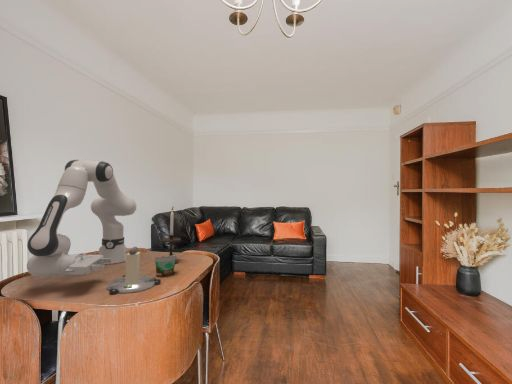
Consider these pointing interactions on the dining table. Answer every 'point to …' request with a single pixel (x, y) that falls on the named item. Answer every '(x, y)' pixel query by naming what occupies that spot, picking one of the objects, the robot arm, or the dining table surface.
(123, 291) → the levelling base
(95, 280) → the dining table surface
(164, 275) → the food container
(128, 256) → the cream bottle
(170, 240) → the candlestick
